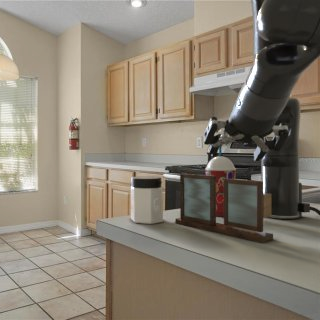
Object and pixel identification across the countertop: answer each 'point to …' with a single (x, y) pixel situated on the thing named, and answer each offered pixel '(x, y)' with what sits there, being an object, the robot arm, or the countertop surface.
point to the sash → (245, 204)
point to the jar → (146, 199)
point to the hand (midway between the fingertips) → (234, 155)
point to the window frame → (208, 208)
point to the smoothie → (220, 178)
